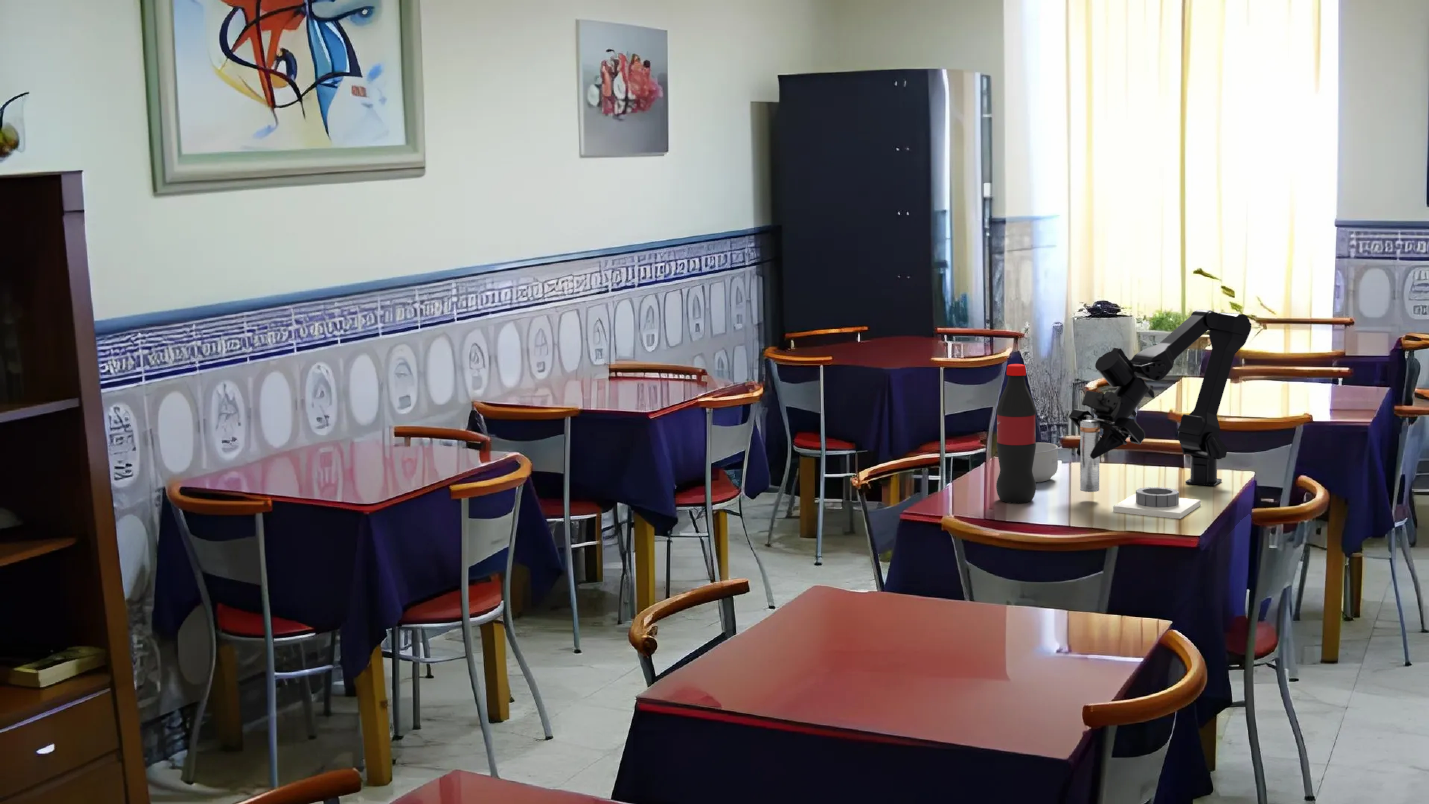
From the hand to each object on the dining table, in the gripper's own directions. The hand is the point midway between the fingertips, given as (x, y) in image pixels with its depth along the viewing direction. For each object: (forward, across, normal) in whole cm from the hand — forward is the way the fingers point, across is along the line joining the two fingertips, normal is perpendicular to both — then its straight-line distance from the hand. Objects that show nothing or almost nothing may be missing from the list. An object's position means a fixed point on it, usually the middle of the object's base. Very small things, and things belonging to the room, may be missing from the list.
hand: (1084, 456), depth 313 cm
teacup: (+3, -26, +12) cm, 28 cm away
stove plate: (+2, +14, +13) cm, 19 cm away
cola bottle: (+15, -9, -1) cm, 18 cm away
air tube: (+4, 0, +6) cm, 8 cm away
